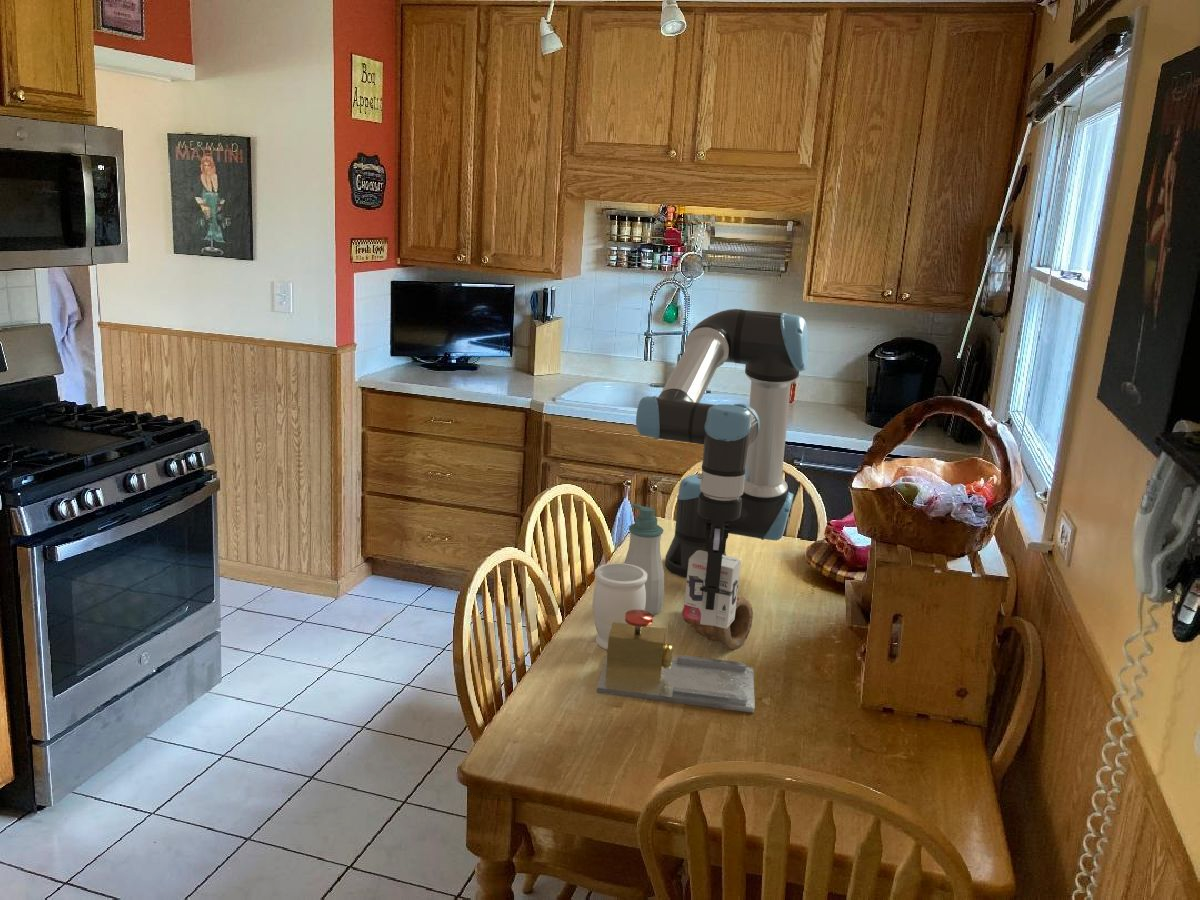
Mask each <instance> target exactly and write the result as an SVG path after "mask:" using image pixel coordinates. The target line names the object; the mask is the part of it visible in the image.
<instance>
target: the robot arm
mask: <svg viewBox="0 0 1200 900" xmlns="http://www.w3.org/2000/svg"><path fill="white" fill-rule="evenodd" d="M808 354H809V332H808V326H807V322H806V320H805V319H804V318H803V317H802V316H801V315H794V314H789V313H786V312H772V311H771V312H770V311H761V310H747V309H740V308H732V309H726V310H721V311H719V312H716V313H714V314H711V315H710V316H708V317H706V318H704V319H703V320H701V321H700V322H698V323H697V324H696V325H695V326H694V327H693V328H692V329H691V330H690V332H689V334H688V335H687V336H686V338H685V340H684V352H683V353H682V355H681V357H680V359H679V361H678V362H677V364H676V365H675V367H674V369H673V371H672V373H671V374H670V376H669V378H668V379H667V381H666V383H665V384H664V386H663V388H662V390H661V391H660V394H659V395H658V396H656V395H654V396H643V397H642V398H641V399H640V401H639V402H638V406H637V410H636V417H635V427H636V430H637V433H638V434H639V435H641V436H644V437H650V438H653V439H656V440H660V439H661V440H666V441H673V442H674V441H677V442H681V443H682V442H683V443H691V444H696V445H703V451H702V453H703V454H702V464H701V472H700V473H696V474H691V475H688V476H685V477H684V478H683V479H682V480H681V481H680V483H679V487H678V494H677V497H676V498H677V503H676V517H675V526H674V527H675V529H674V536H673V538H672V540H671V543H670V545H669V547H668V550H667V551H666V554H665V559H664V567H665V569H666V570H667V571H668V572H669V573H671V574H673V575H674V576H678V577H681V578H685V579H687V572H688V563H689V558H690V557H691V556H692V555H693V554H694V553H695V552H696V551H698V550H702V551H707V552H708V559H707V569H706V579H705V586H704V587H700V591H703V600H702V610H701V620H700V624H703V625H711V626H715V625H716V616H717V606H718V597H719V591H720V589H719V583H720V573H721V563H722V555H725V556H727V553H726V548H727V547H726V546H727V539H728V537H729V535H730V534H731V535H737V536H742V537H747V538H754V539H760V540H762V541H763V540H768V541H779V540H781V539H782V538H783V535H784V532H785V530H786V528H787V527H786V526H787V523H788V520H789V514H790V512H791V507H792V504H793V500H794V493H792V492H790V491H788V483H787V482H786V481H785V480H784V479H783V468H784V461H785V460H784V456H785V447H786V440H787V439H786V437H787V436H786V435H787V428H788V416H789V407H790V395H791V387H792V385H791V384H793V382H795V381H796V380H797V379H798V378H799V376H800V372H803V371H806V369H807V366H808V360H809V359H808V357H809V355H808ZM724 363H732V364H733V363H734V364H739V365H745V368H744V369H745V370H744V374H745V376H746V377H747V378H748V379H749V380H750V381H751V383H750V396H749V405H747V404H745V403H735V404H727V403H726V404H722V403H721V404H713V403H703V402H701V400H702V398H703V396H704V395H705V393H706V391H707V388H708V386H709V384H710V383H711V380H712V378H713V377H714V374H715V372H716V371H717V368H720V367H721V366H723V364H724Z"/></svg>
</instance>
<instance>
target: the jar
mask: <svg viewBox="0 0 1200 900" xmlns="http://www.w3.org/2000/svg"><path fill="white" fill-rule="evenodd" d="M647 576H648V574H647V572H646V571H645V570H644V569H642V568H640V567H638V566H635V565H631V564H625V563H624V562H623V563H622V562H614V563H613V562H612V563H605V564H601V565H599V566H598V567H597V568H596V569H595V570H594V577H595V579H596V581H595V585H594V588H593V594H592V595H593V596H592V609H593V610H592V612H593V620H594V621H593V622H594V626H595V630H596V632H597V634H596V636H595V644H597V646H598V647H600V648H603V649H605V650H606V651H608V638H609V633H610V630H611V627H612V623H613V622H615V623H623V624H628V623H627V622H626V621H625V614H626V612H628V611H630V610H645V604H646V590H645V584H644V583H645V582H646V581H647Z"/></svg>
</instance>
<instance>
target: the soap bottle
mask: <svg viewBox="0 0 1200 900" xmlns="http://www.w3.org/2000/svg"><path fill="white" fill-rule="evenodd" d="M632 508H634V509H637V510H639V511H640V513H639V515H637V516H636V518H635V523H633V524H630V525H629V527H628V530H629V543H628V549H627V553H626V556H625V559H624V562H623V563H625V564H631V565H635V566H638V567H640V568H642V569H644V570H645V571H646V572H647V574H648V576H647V581H646V582H645V583H644V584H645V590H646V604H645V610H644V611H647V612H650V613H651V614H652V615H653V617H654V616H656V615H658V614H659V613H660V612H661V611H662V608H663V606H664V593H665V572H664V567H663V561H662V555H661V538H662V537H661V536H662V534H663V533H664V529H663V527H662V526H660V525H659V524H658V517H657V516H655V508H653V507H651V506H643V505H641V504H638V503H633V504H632Z"/></svg>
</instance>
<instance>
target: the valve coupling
mask: <svg viewBox="0 0 1200 900" xmlns="http://www.w3.org/2000/svg"><path fill="white" fill-rule="evenodd" d="M653 618H654V616H653V615H652V614H651V613H650V612H647V611H644V610H630V611H628V612H626V614H625V621H626V622H627V623H628V624H623V623H615V622H613V623H612V627H611V630H610V633H609V638H608V650H606V651H607V652H606V655H605V658H604V662H603V665H602V669H601V671H600V672H601V673H600V676H599V679H598V681H597V686H596V693H597V694H604V695H605V694H606V695H614V696H619V697H620V696H621V697H629V698H635V699H636V698H637V699H643V700H645V699H646V700H652V701H659V702H666V703H667V702H668V703H674V704H675V703H676V704H683V705H692V706H697V707H698V706H699V707H706V708H713V709H721V710H728V711H729V710H730V711H736V712H744V713H745V712H746V713H752V714H754V713H755V709H756V708H755V703H756V702H755V681H754V680H755V679H754V678H755V677H754V675H755V674H754V667H753V666H747V663H746V662H742V661H735V660H734V661H731V660H725V659H717V658H710V657H709V658H707V657H699V656H692V655H683V654H677V657H673V651H674V644H672V643H666V633H667V628H666V627H664V628H663V627H654V626H650V625H652V623H653V620H654V619H653Z"/></svg>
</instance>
